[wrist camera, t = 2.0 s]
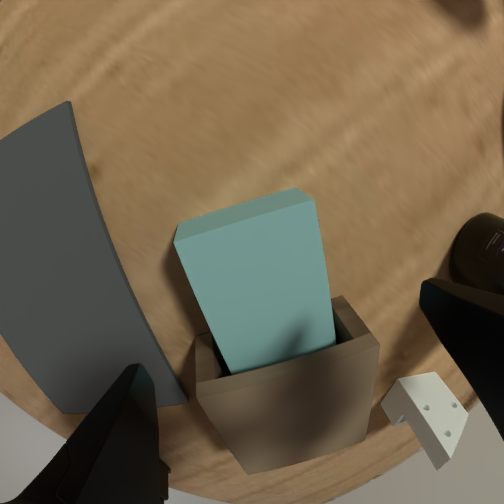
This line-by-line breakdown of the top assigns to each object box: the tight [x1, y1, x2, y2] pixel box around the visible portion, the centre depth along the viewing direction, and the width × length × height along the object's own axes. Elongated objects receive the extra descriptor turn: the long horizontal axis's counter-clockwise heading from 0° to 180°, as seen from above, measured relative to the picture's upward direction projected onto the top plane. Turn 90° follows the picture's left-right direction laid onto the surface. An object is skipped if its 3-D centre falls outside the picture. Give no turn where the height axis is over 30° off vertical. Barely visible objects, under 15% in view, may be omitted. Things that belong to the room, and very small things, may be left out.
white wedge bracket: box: [380, 372, 468, 470], centre depth 20 cm, size 4×10×9 cm, turn 78°
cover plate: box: [173, 187, 336, 375], centre depth 16 cm, size 6×14×3 cm, turn 15°
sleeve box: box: [195, 296, 380, 475], centre depth 17 cm, size 9×11×5 cm
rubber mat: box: [0, 101, 189, 414], centre depth 14 cm, size 12×20×1 cm, turn 12°
